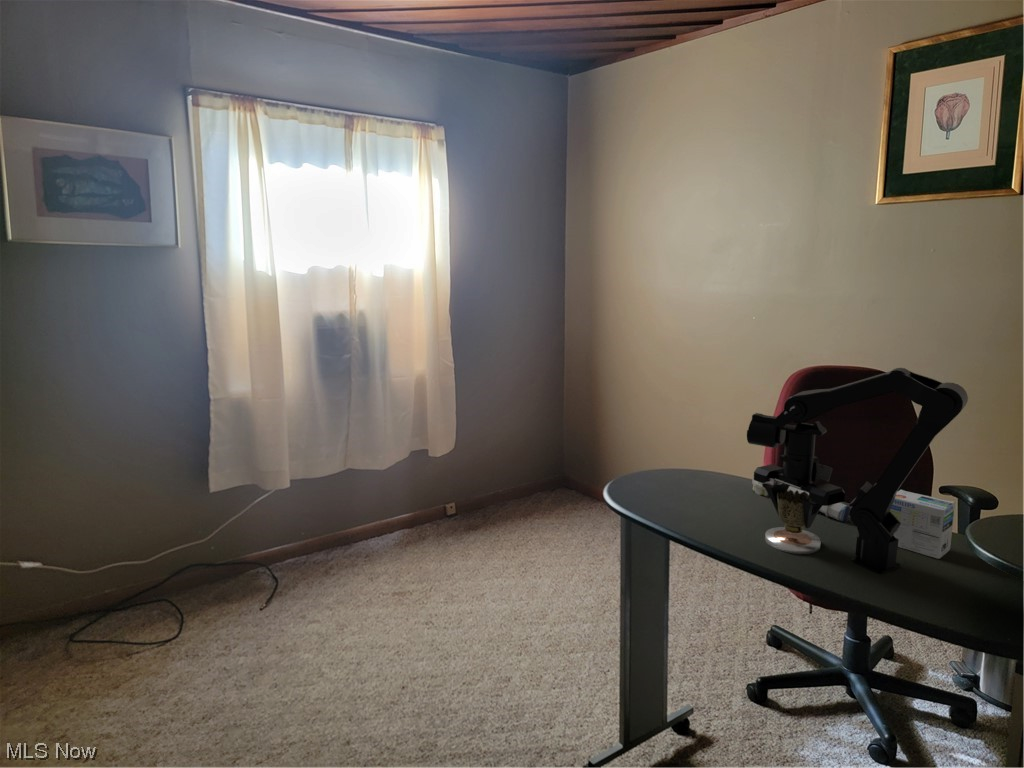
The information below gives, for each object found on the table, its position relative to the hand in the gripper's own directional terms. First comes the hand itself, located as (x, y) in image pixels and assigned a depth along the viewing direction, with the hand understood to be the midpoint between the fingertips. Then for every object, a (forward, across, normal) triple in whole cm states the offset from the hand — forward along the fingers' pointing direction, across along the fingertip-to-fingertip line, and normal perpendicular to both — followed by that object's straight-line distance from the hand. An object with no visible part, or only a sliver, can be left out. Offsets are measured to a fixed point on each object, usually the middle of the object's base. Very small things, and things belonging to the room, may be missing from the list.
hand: (794, 522), depth 142 cm
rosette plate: (+5, 0, 0) cm, 5 cm away
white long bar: (+5, +15, -19) cm, 25 cm away
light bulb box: (+5, -14, -21) cm, 26 cm away
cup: (+2, 0, 0) cm, 2 cm away
